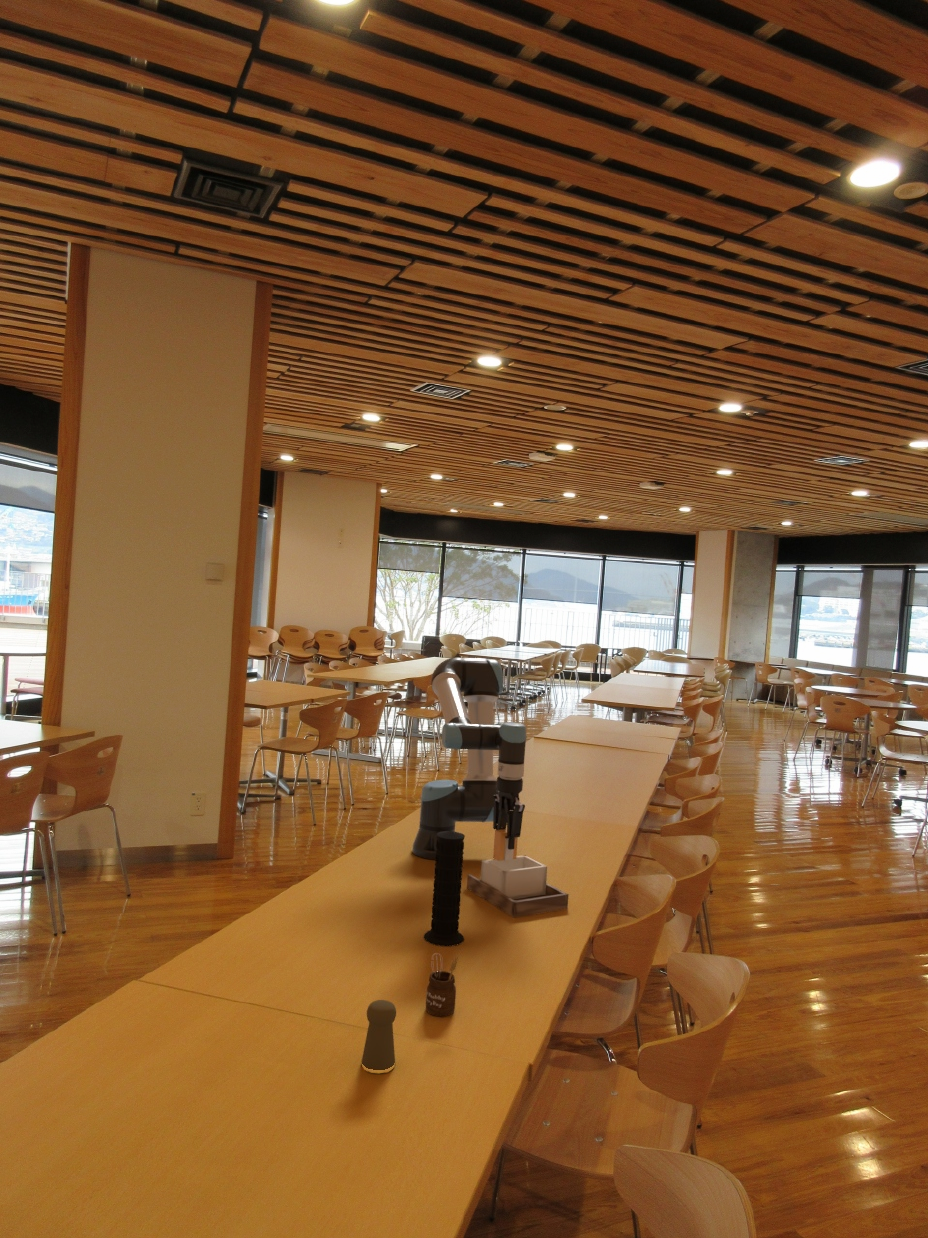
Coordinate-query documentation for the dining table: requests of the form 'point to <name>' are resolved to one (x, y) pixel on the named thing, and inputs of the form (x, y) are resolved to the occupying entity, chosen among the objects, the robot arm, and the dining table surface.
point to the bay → (520, 899)
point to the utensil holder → (441, 991)
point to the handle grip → (447, 890)
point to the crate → (513, 872)
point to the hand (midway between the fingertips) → (504, 857)
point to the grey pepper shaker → (379, 1036)
